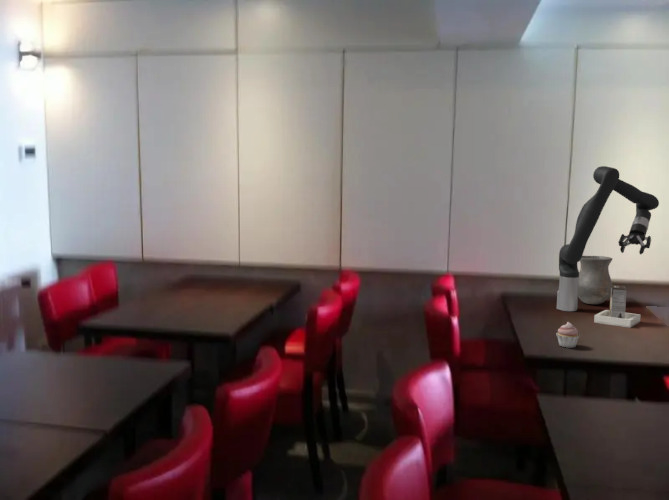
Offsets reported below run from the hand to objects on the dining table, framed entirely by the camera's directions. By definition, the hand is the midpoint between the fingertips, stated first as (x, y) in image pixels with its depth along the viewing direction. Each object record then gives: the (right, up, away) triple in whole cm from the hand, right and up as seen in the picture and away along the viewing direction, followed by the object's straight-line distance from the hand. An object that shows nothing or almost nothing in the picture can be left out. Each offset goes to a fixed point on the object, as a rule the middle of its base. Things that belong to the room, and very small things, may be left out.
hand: (631, 252), depth 326 cm
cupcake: (-52, -38, -58) cm, 86 cm away
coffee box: (-13, -32, -15) cm, 38 cm away
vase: (-8, -28, +29) cm, 41 cm away
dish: (-13, -33, -15) cm, 38 cm away
